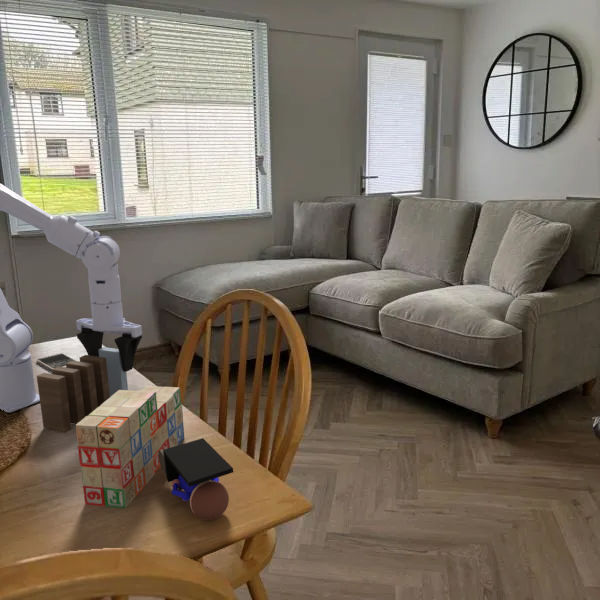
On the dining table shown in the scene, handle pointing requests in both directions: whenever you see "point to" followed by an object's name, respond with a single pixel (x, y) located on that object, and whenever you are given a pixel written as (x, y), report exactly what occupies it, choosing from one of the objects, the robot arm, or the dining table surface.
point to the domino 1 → (54, 402)
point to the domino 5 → (114, 370)
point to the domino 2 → (73, 392)
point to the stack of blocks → (127, 442)
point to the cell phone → (54, 361)
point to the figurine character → (197, 477)
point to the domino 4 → (99, 377)
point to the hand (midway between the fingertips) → (112, 367)
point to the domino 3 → (86, 384)
